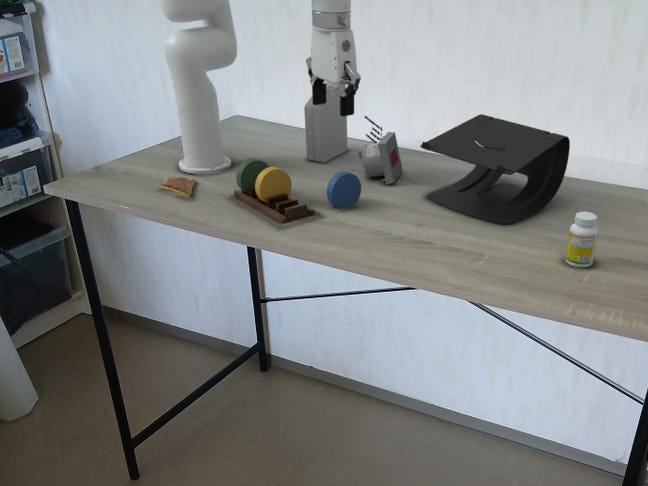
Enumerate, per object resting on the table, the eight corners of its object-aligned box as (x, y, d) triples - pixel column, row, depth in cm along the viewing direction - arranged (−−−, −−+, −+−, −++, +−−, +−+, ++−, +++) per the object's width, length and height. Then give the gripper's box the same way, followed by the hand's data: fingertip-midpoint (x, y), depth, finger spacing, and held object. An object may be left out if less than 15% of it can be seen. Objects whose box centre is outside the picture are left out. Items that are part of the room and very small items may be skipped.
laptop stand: (566, 201, 172) (576, 134, 164) (504, 229, 157) (511, 157, 149) (480, 174, 186) (485, 111, 178) (415, 197, 172) (417, 130, 163)
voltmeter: (414, 182, 180) (415, 142, 174) (370, 188, 176) (369, 146, 170) (375, 150, 200) (375, 112, 195) (335, 154, 196) (333, 116, 191)
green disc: (238, 196, 167) (234, 161, 163) (269, 189, 172) (266, 154, 167) (242, 199, 166) (238, 164, 161) (273, 191, 170) (270, 157, 166)
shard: (191, 200, 166) (190, 193, 165) (155, 201, 165) (154, 193, 164) (196, 183, 175) (195, 176, 174) (163, 184, 174) (162, 177, 173)
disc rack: (229, 198, 168) (227, 184, 167) (267, 188, 174) (266, 175, 172) (280, 228, 155) (279, 213, 153) (320, 217, 160) (319, 203, 159)
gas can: (318, 166, 188) (313, 62, 174) (301, 163, 190) (295, 59, 176) (348, 150, 200) (346, 51, 186) (332, 147, 201) (329, 48, 188)
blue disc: (328, 211, 164) (324, 176, 159) (357, 201, 168) (354, 166, 164) (333, 213, 163) (330, 179, 158) (362, 203, 167) (360, 169, 162)
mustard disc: (255, 205, 162) (254, 168, 158) (286, 200, 167) (286, 164, 163) (259, 207, 161) (259, 171, 157) (291, 202, 166) (292, 167, 162)
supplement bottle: (584, 270, 142) (591, 223, 137) (559, 262, 145) (566, 215, 140) (597, 261, 145) (605, 215, 140) (573, 253, 148) (580, 208, 143)
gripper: (374, 26, 142) (373, 117, 151) (321, 11, 152) (324, 97, 162) (342, 29, 138) (343, 122, 147) (290, 14, 148) (294, 102, 158)
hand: (333, 109), depth 155 cm, fingers open, 9 cm apart
